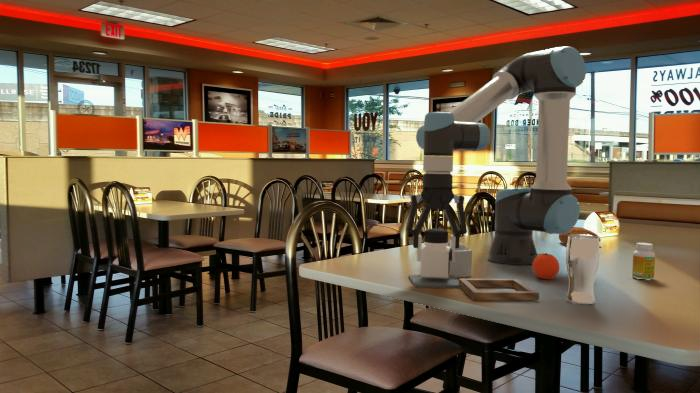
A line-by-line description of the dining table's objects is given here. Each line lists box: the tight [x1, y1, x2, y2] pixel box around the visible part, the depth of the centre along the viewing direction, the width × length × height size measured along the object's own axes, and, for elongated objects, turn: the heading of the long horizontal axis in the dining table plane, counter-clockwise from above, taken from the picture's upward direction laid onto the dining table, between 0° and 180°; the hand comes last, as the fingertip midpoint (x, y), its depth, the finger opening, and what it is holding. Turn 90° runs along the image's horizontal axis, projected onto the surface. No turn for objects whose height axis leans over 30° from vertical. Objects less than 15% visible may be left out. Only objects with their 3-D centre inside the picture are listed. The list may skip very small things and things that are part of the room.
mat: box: [408, 274, 462, 289], centre depth 148 cm, size 12×12×1 cm
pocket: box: [458, 278, 540, 301], centre depth 138 cm, size 15×15×2 cm
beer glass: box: [565, 235, 600, 305], centre depth 130 cm, size 7×7×15 cm
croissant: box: [558, 226, 601, 246], centre depth 219 cm, size 14×16×8 cm
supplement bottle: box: [631, 242, 656, 280], centre depth 157 cm, size 5×5×10 cm
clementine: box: [531, 252, 560, 280], centre depth 155 cm, size 8×7×7 cm
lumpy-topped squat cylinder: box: [447, 240, 473, 278], centre depth 160 cm, size 10×13×9 cm
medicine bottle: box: [420, 228, 450, 278], centre depth 148 cm, size 7×7×12 cm
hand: (435, 260), depth 148 cm, fingers closed on medicine bottle, 8 cm apart
